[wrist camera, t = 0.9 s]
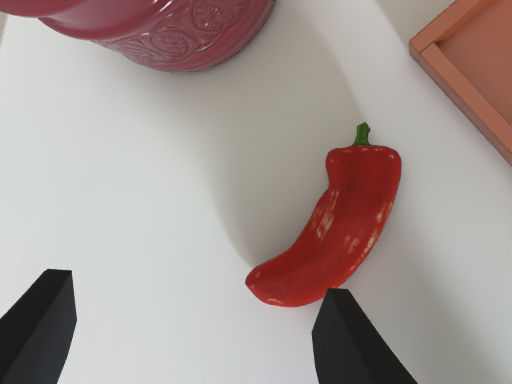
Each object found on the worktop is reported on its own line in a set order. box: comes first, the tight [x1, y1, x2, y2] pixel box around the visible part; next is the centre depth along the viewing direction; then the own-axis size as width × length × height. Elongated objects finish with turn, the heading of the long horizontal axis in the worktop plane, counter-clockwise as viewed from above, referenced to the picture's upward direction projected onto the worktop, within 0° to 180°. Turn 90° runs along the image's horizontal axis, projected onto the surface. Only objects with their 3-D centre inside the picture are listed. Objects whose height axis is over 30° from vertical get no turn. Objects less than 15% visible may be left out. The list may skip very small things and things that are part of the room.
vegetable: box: [245, 122, 401, 307], centre depth 23 cm, size 4×5×12 cm
